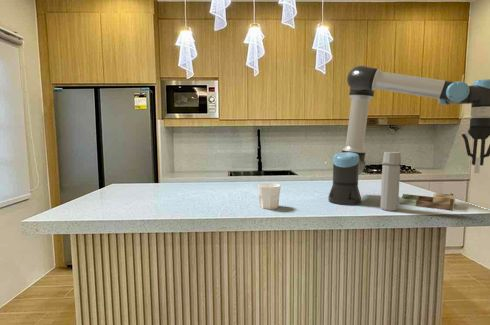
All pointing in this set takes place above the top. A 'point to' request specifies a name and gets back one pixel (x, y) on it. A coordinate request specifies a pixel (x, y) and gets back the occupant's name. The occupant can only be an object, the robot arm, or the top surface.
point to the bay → (424, 202)
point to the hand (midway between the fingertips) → (476, 172)
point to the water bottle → (390, 181)
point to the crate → (443, 198)
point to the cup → (269, 195)
